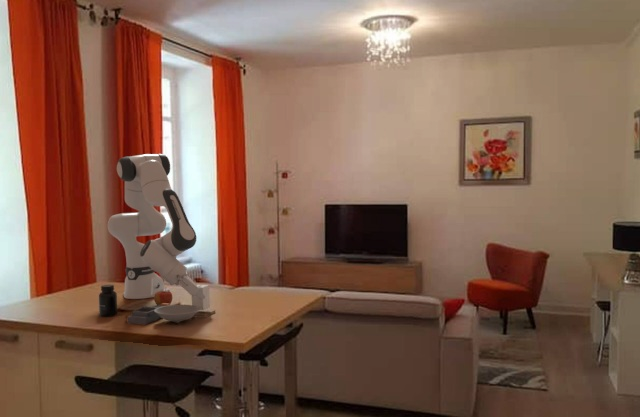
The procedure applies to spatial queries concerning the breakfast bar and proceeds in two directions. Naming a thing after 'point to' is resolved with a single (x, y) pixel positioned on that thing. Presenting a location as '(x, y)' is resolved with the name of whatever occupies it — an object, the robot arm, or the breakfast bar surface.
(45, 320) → the breakfast bar surface
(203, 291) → the block
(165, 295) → the apple
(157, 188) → the robot arm
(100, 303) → the supplement bottle
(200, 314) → the cork pad
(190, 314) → the dish
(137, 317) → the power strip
